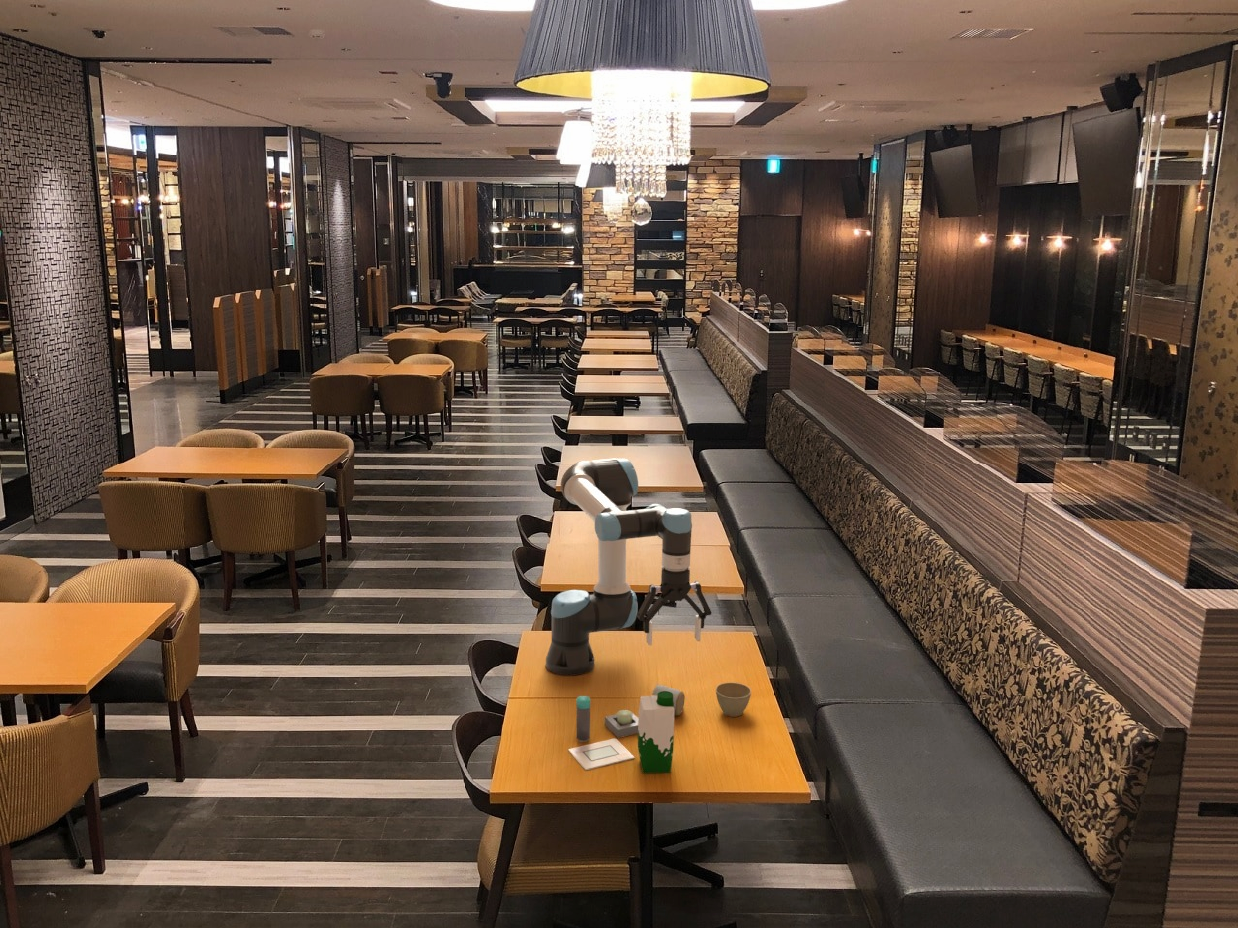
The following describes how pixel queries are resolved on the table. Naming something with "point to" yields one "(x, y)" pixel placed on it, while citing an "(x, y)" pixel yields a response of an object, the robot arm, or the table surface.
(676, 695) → the ceramic mug
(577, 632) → the robot arm
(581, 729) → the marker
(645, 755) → the milk carton
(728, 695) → the flower pot
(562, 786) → the table surface
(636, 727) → the button housing
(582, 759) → the sheet
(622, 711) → the button cap
